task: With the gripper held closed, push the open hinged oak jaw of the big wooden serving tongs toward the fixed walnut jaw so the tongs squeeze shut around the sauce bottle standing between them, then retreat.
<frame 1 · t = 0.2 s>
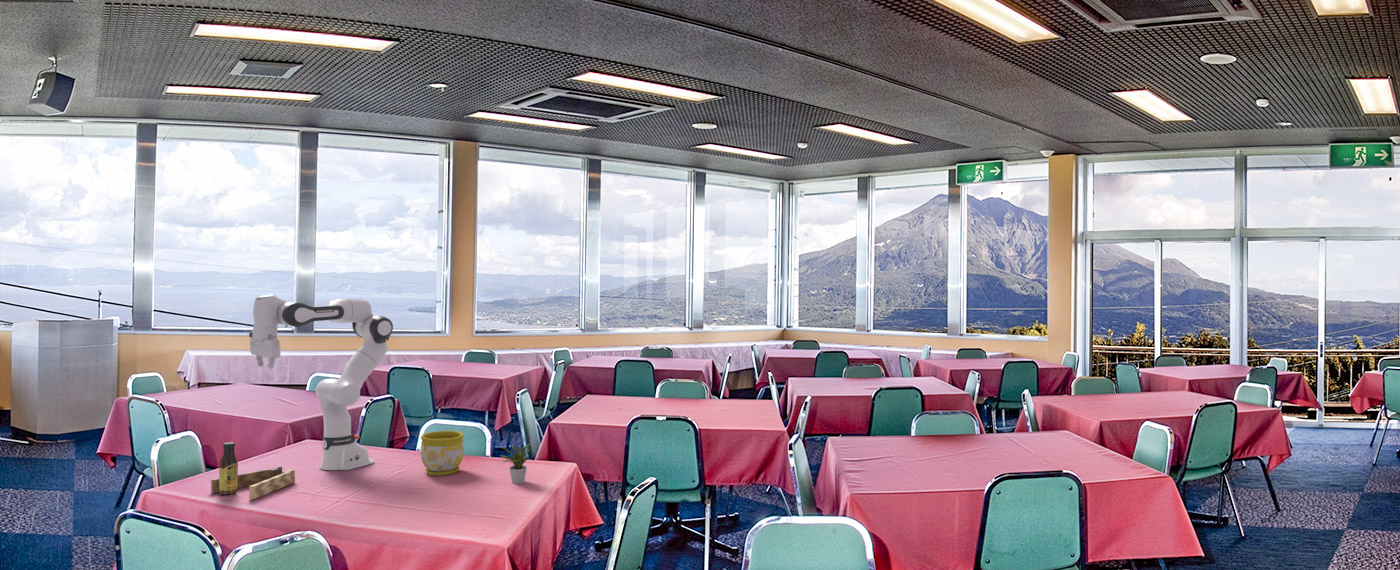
hand: (265, 367, 330), 48 cm above the table, fingers open, 8 cm apart
oak jaw: (271, 483, 317), point 3 cm above the table, hinge at 30.0°
sauce bottle: (228, 493, 313), on the table
house plant: (518, 481, 335), on the table
flowerpot: (442, 472, 348), on the table
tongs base: (279, 483, 328), on the table
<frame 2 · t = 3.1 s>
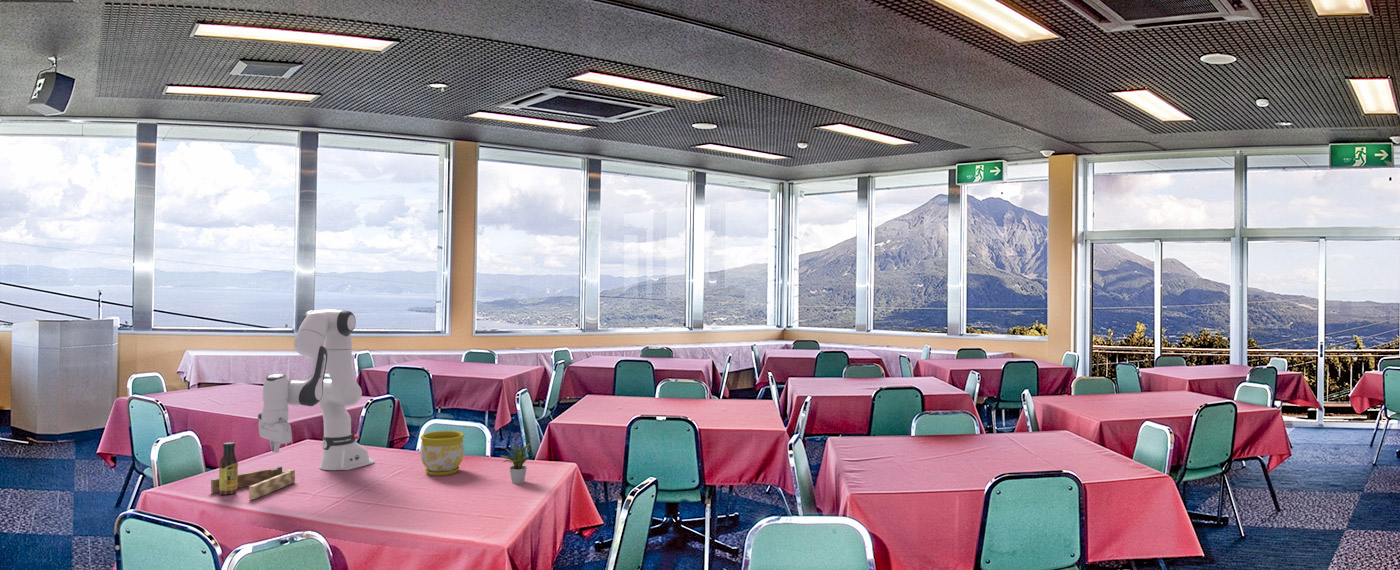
hand: (275, 451, 309), 17 cm above the table, fingers closed
nothing on the table moved.
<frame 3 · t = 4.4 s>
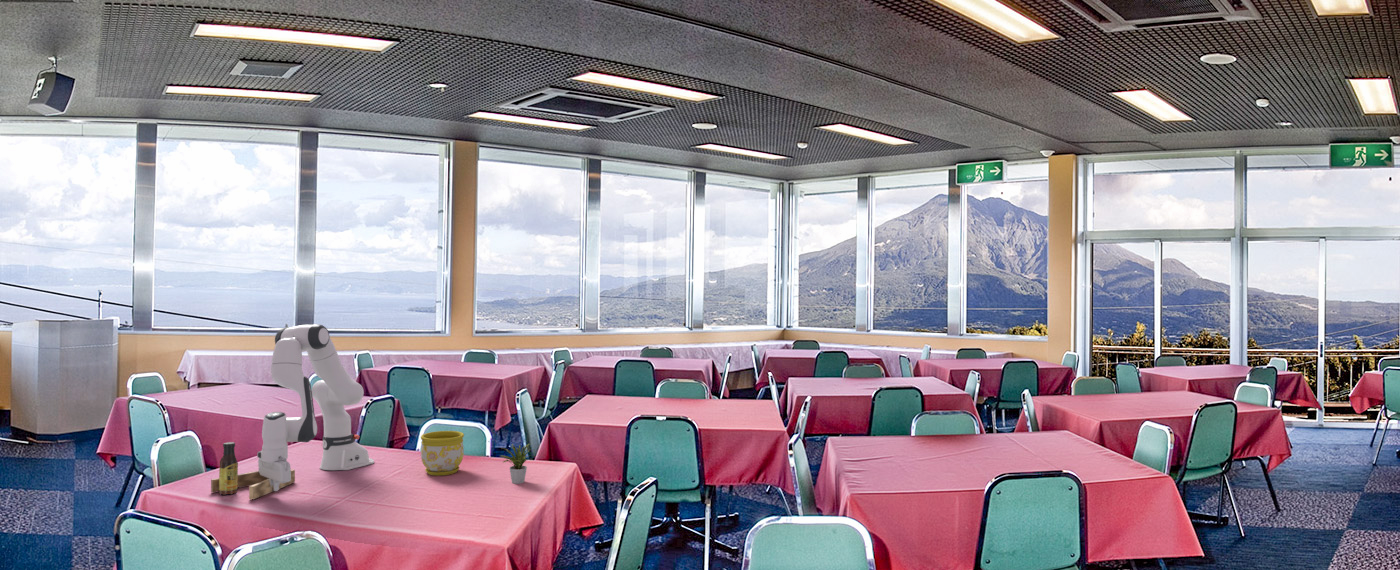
hand: (274, 490, 309), 2 cm above the table, fingers closed
nothing on the table moved.
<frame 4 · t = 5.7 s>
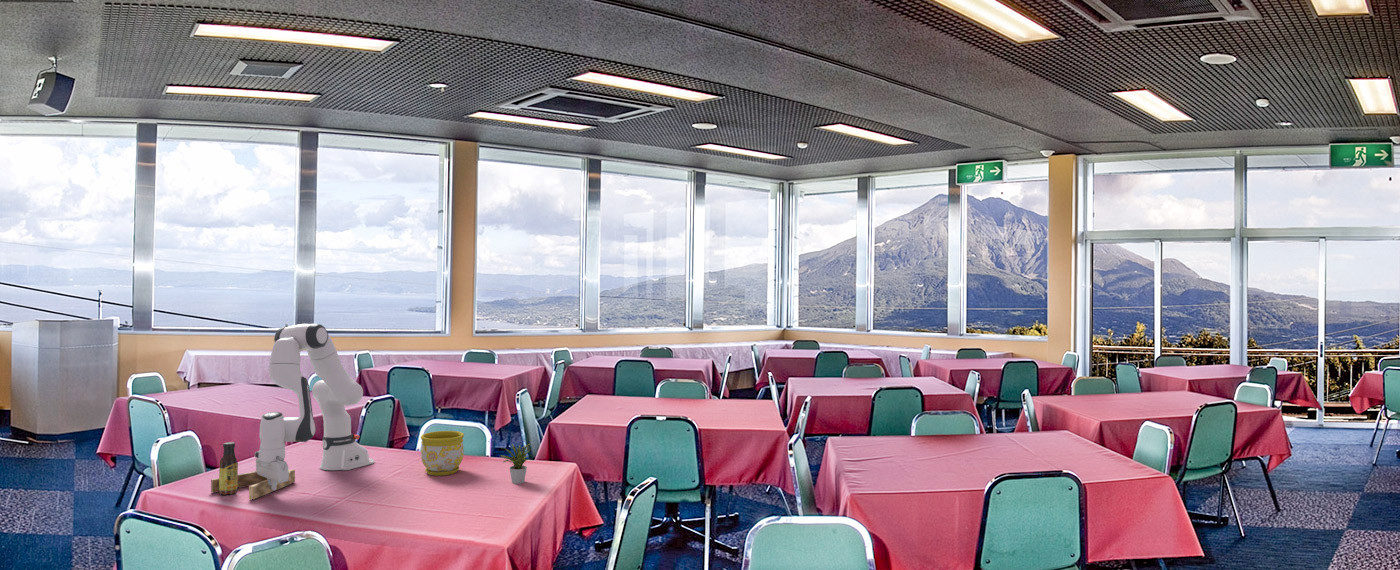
hand: (272, 489, 311), 2 cm above the table, fingers closed
oak jaw: (271, 483, 317), point 3 cm above the table, hinge at 30.0°, touching gripper
everything else where it was.
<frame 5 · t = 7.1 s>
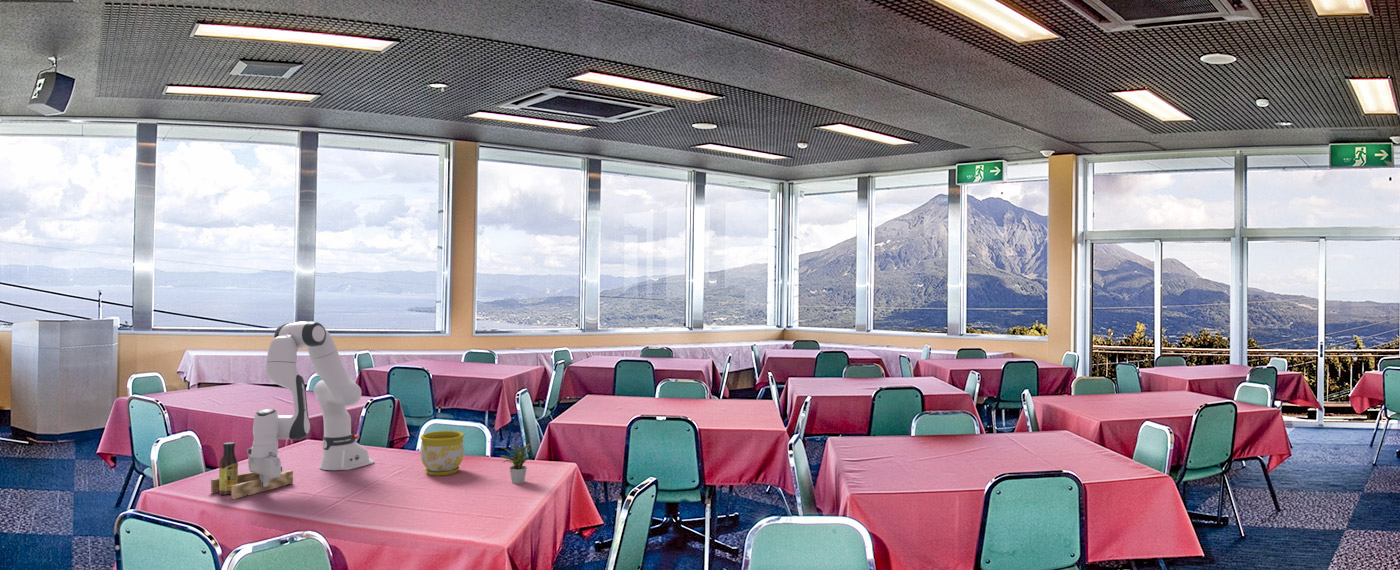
hand: (264, 486, 314), 3 cm above the table, fingers closed
oak jaw: (262, 483, 316), point 3 cm above the table, hinge at 12.3°, touching gripper
everything else where it was.
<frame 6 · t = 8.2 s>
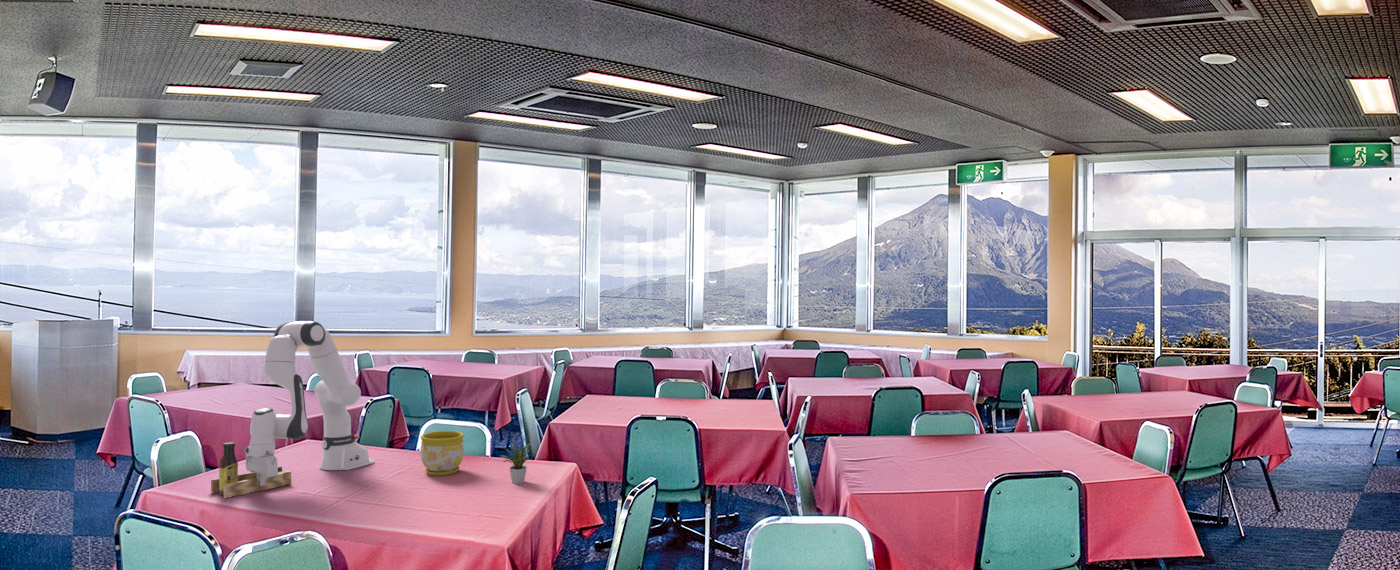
hand: (261, 485, 315), 3 cm above the table, fingers closed
oak jaw: (257, 483, 317), point 3 cm above the table, hinge at 2.4°, touching gripper
everything else where it was.
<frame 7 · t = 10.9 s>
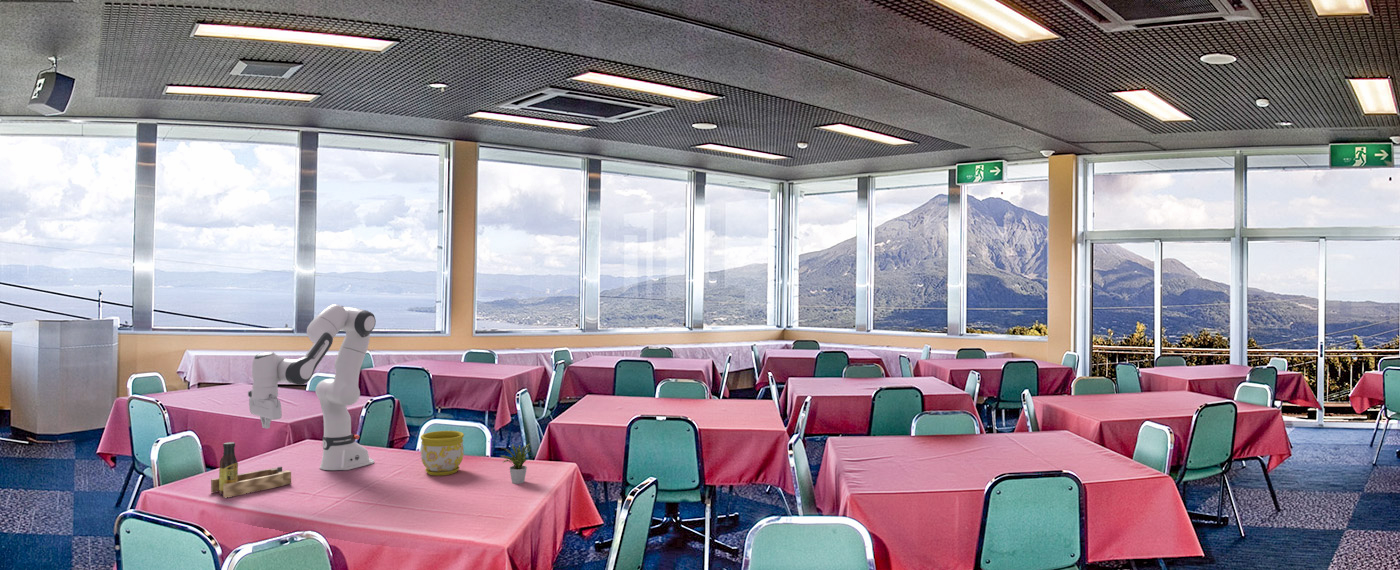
hand: (266, 427, 317), 25 cm above the table, fingers closed
oak jaw: (257, 483, 317), point 3 cm above the table, hinge at 2.2°
everything else where it was.
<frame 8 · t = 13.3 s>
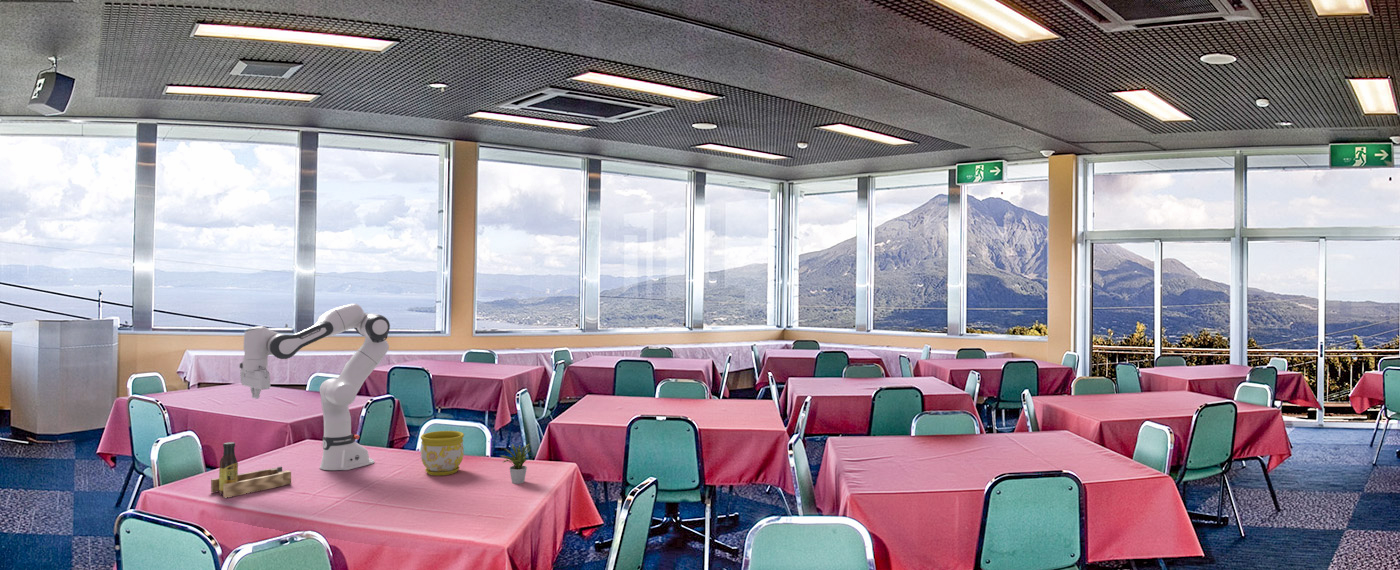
hand: (255, 398, 333), 34 cm above the table, fingers closed
nothing on the table moved.
at the end: oak jaw at +2° (first picture: +30°); sauce bottle inside the target area (0.0 cm from its centre), on the table; sauce bottle tilted 0° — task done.
